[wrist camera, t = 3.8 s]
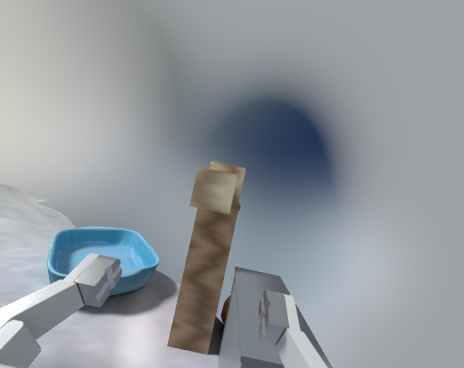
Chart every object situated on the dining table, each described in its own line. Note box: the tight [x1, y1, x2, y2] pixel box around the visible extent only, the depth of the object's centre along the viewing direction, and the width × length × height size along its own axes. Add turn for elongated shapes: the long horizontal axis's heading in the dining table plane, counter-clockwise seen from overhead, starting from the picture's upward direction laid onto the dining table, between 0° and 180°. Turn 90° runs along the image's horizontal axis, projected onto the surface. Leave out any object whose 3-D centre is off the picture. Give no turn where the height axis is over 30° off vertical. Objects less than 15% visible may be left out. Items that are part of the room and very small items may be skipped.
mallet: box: [190, 161, 246, 214], centre depth 30 cm, size 7×28×7 cm, turn 0°
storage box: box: [218, 267, 332, 368], centre depth 25 cm, size 8×18×14 cm, turn 0°
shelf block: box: [168, 202, 240, 354], centre depth 39 cm, size 7×14×26 cm, turn 0°
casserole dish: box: [47, 227, 159, 296], centre depth 50 cm, size 37×22×7 cm, turn 41°
